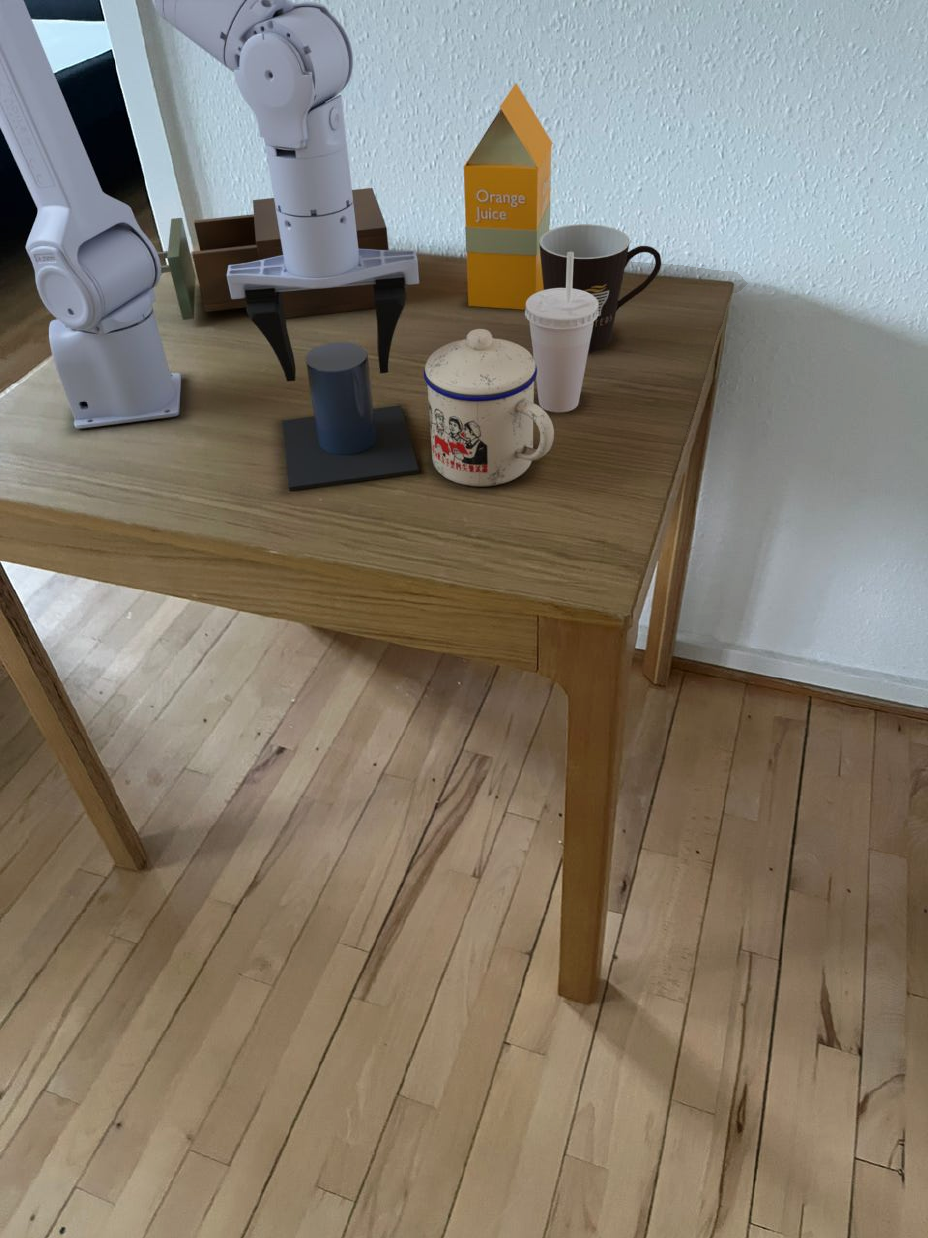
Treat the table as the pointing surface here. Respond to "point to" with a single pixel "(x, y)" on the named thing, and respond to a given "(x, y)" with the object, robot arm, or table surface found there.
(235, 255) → the drawer
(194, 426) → the table surface
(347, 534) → the table surface
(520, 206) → the orange juice
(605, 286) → the coffee mug
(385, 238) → the cabinet
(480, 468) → the teacup with lid
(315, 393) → the blue-grey cylinder
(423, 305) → the table surface
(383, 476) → the mat
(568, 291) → the smoothie
